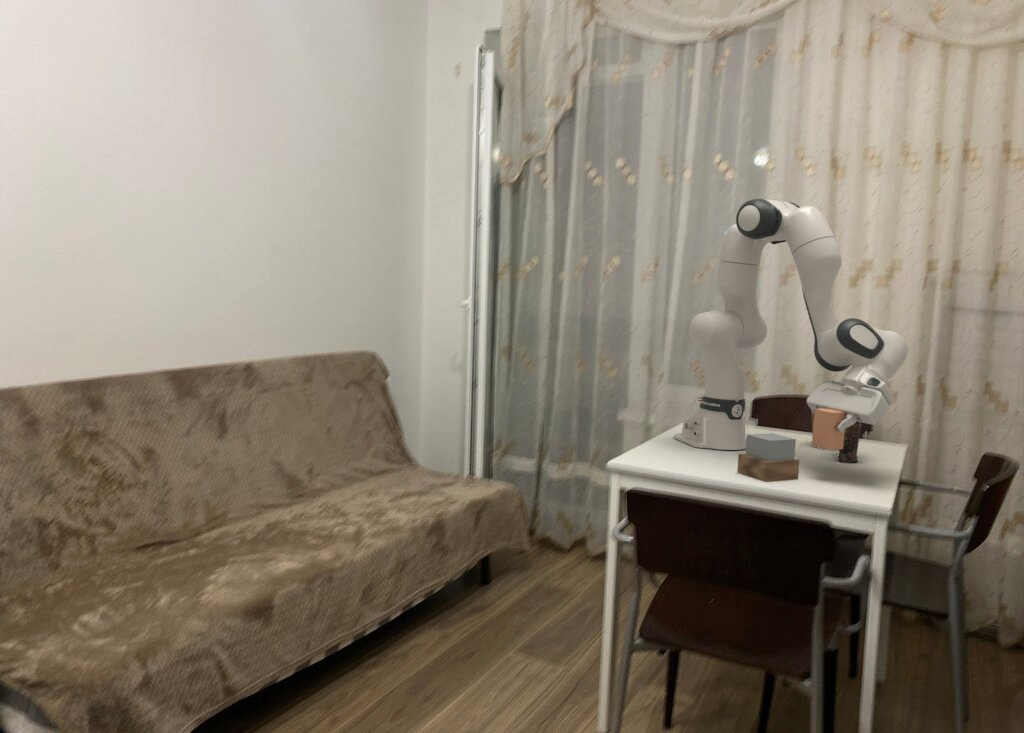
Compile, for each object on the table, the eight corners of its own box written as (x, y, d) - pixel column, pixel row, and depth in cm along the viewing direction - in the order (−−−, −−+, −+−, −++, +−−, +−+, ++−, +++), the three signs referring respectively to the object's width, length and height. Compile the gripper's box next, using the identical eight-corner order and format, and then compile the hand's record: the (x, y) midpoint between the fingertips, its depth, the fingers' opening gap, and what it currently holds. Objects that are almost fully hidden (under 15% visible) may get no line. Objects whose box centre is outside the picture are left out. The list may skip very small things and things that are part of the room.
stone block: (832, 453, 225) (837, 383, 224) (858, 455, 223) (864, 385, 221) (835, 462, 213) (841, 388, 211) (863, 464, 211) (870, 390, 209)
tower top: (745, 454, 195) (746, 434, 194) (771, 453, 198) (772, 433, 197) (768, 461, 187) (769, 440, 187) (794, 459, 191) (795, 439, 190)
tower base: (737, 473, 196) (738, 453, 195) (767, 471, 200) (769, 451, 199) (766, 483, 187) (767, 462, 186) (797, 480, 191) (799, 460, 190)
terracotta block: (811, 445, 193) (815, 409, 192) (826, 444, 195) (830, 408, 194) (827, 450, 188) (831, 412, 187) (842, 449, 190) (846, 412, 189)
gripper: (821, 371, 202) (789, 410, 199) (890, 383, 183) (855, 426, 180) (832, 388, 204) (800, 427, 201) (901, 402, 186) (867, 445, 183)
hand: (827, 427), depth 191 cm, fingers closed on terracotta block, 5 cm apart
